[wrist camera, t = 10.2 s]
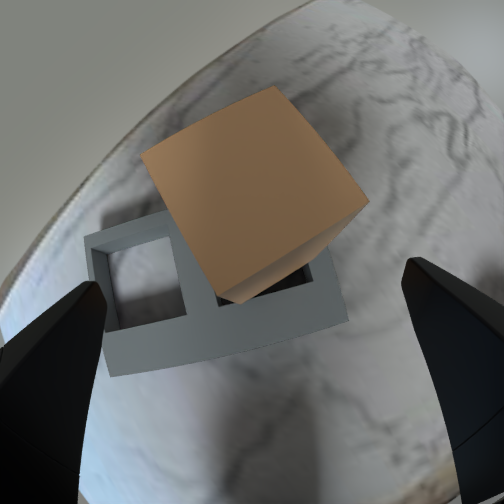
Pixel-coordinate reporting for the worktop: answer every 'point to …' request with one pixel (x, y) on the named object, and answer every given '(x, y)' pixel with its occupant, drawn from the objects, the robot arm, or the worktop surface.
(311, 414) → the worktop surface
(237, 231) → the plug
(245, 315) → the socket block
